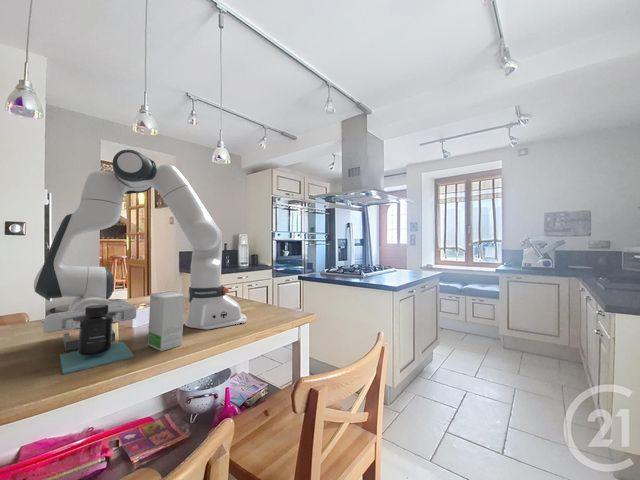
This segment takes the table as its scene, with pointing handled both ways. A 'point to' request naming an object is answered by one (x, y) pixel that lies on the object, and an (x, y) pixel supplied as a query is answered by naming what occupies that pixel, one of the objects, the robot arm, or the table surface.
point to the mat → (94, 358)
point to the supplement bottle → (95, 331)
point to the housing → (76, 341)
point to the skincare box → (166, 320)
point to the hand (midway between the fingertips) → (97, 322)
